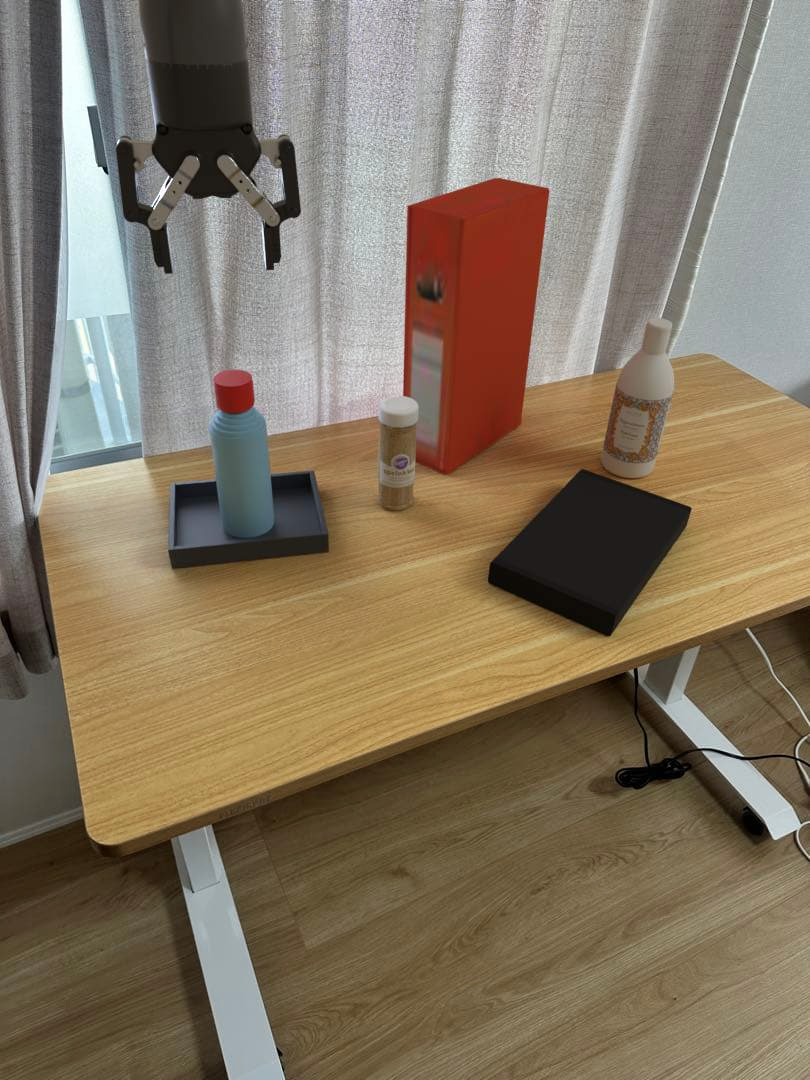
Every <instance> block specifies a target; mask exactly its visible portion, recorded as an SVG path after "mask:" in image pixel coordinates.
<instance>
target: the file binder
mask: <svg viewBox="0 0 810 1080" xmlns="http://www.w3.org/2000/svg"><path fill="white" fill-rule="evenodd" d="M549 198H550V188H549V187H544V186H541V185H535V184H530V183H524V182H522V181H521V182H520V181H515V180H511V179H506V178H501V177H494V178H490V179H488V180H485V181H481V182H478V183H475V184H471V185H469V186H465V187H462V188H459V189H456V190H454V191H453V190H452V191H450V192H446V193H443V194H440V195H437V196H434V197H430V198H427V199H424V200H421V201H418V202H414V203H412V204H409V205H407V209H406V247H405V248H406V250H405V251H406V252H405V253H406V254H405V257H406V258H405V293H404V295H405V298H404V335H403V339H404V343H403V377H402V378H403V380H402V384H403V385H402V396H405V397H409V398H411V399H413V400H415V401H416V402H417V403H418V406H419V413H418V421H417V424H416V457H415V463H418V464H421V465H423V466H425V467H427V468H429V469H432V470H434V471H437V472H439V473H441V474H444V475H449V474H451V473H453V472H454V471H456V470H457V469H458V468H460V467H461V466H463V465H464V464H466V463H467V462H469V461H470V460H472V459H473V458H475V457H476V456H477V455H479V454H480V453H482V452H483V451H485V450H487V449H488V448H489V447H490V446H492V445H493V444H495V443H496V442H498V441H499V440H501V439H502V438H503V437H505V436H507V435H508V434H509V433H511V432H512V431H514V430H516V429H517V428H518V427H520V426H521V425H522V417H523V410H524V409H523V408H524V402H525V401H524V400H525V393H526V392H525V391H526V384H527V377H528V369H529V360H530V352H531V344H532V336H533V328H534V327H533V326H534V321H535V319H534V318H535V311H536V302H537V297H538V296H537V295H538V288H539V278H540V273H541V272H540V271H541V262H542V257H543V256H542V254H543V247H544V239H545V238H544V237H545V230H546V222H547V214H548V207H549V200H550V199H549Z"/></svg>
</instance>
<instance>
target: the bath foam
mask: <svg viewBox="0 0 810 1080" xmlns="http://www.w3.org/2000/svg"><path fill="white" fill-rule="evenodd" d="M672 329H673V322H672V321H670V320H668V319H666V318H663V317H651V318H649V319H648V320H647V322H646V325H645V329H644V334H643V338H642V343H641V347H640V349H639V350H638V351H637V352H636V353H634V355H632V357H630V359H629V360H628V361H626V363H625V364H624V365H623V367H622V369H621V370H620V372H619V375H618V378H617V381H616V384H615V389H614V392H613V393H614V395H613V398H612V402H611V403H612V404H611V407H610V412H609V417H608V422H607V426H606V431H605V436H604V441H603V447H602V452H601V457H600V462H601V464H602V466H603V468H604V469H605V470H606V471H608V472H609V473H610V474H612V475H614V476H617V477H619V478H620V477H621V478H625V479H641V478H644V477H647V476H649V475H651V473H652V472H653V470H654V469H655V465H656V461H657V459H658V455H659V450H660V446H661V443H662V439H663V435H664V430H665V428H666V427H665V426H666V423H667V419H668V415H669V411H670V408H671V404H672V400H673V396H674V393H675V392H674V391H675V373H674V369H673V366H672V364H671V361H670V359H669V356H668V354H667V349H668V346H669V342H670V337H671V334H672Z"/></svg>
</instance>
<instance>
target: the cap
mask: <svg viewBox="0 0 810 1080" xmlns="http://www.w3.org/2000/svg"><path fill="white" fill-rule="evenodd" d="M212 380H213V387H214V396H215V405H216V407H217V410H218V409H220V410H221V411H224V412H228V413H239V412H244V411H247V410H249V409H251V408H252V407H254V405H255V401H256V399H255V388H254V380H253V375H252V374H251V373H250V372H249V371H246V370H242V369H227V370H222V371H219V372H218V373H216V374H215V375H214V376H213V378H212Z"/></svg>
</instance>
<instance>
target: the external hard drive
mask: <svg viewBox="0 0 810 1080" xmlns="http://www.w3.org/2000/svg"><path fill="white" fill-rule="evenodd" d="M692 510H693V509H692V507H691V506H689V505H686V504H684V503H681V502H678V501H675V500H673V499H669V498H667V497H664V496H661V495H659V494H655V493H653V492H649V491H647V490H644V489H641V488H639V487H636V486H633V485H630V484H628V483H624V482H621V481H619V480H616V479H613V478H610V477H608V476H605V475H602V474H599V473H596V472H593V471H591V470H588V469H584V468H581V469H579V471H578V472H577V473H575V475H573V477H572V478H571V479H570V480H569V481H568V482H567V483H566V484H565V485H564V486H563V487H562V488H561V489H560V490H559V491H558V492H557V493H556V494H555V496H553V498H552V499H550V501H548V502H547V504H546V505H545V506H543V508H542V509H541V510H540V511H539V512H538V513H537V514H536V515H535V516H534V517H533V518H532V519H531V520H530V521H529V522H528V523H527V525H525V526H524V527H523V528H522V529H521V530H520V531H519V533H517V534H516V536H515V537H513V539H512V540H511V541H510V542H508V544H507V545H506V546H504V548H502V550H501V551H500V552H499V553H498V554H497V555H496V556H495V557H494V558H493V559H492V560H491V561H490V562H489V567H488V575H487V576H488V577H487V583H488V584H489V585H490V586H494V587H496V588H498V589H500V590H503V591H504V592H507V593H509V594H511V595H514V596H515V597H518V598H520V599H523V600H525V601H527V602H530V603H531V604H534V605H537V606H539V607H541V608H543V609H545V610H548V611H550V612H552V613H554V614H556V615H559V616H561V617H563V618H566V619H567V620H570V621H572V622H574V623H577V624H579V625H581V626H583V627H586V628H588V629H590V630H593V631H594V632H597V633H598V634H601V635H604V636H606V637H611V636H612V635H613V633H614V632H615V630H616V629H617V627H618V626H619V624H621V622H622V621H623V619H624V617H625V616H626V615H627V613H628V612H629V610H630V609H631V607H632V606H633V604H634V603H635V602H636V600H637V598H638V597H639V596H640V595H641V593H642V591H643V590H644V588H645V587H646V586H647V584H648V583H649V582H650V580H651V579H652V577H653V575H654V574H655V573H656V571H657V570H658V568H659V567H660V566H661V564H662V562H663V561H664V559H665V558H666V557H667V555H669V552H670V551H671V549H672V548H673V547H674V545H675V544H676V542H677V541H678V539H679V538H680V536H681V535H682V534H683V532H684V531H685V529H686V527H687V526H688V523H689V519H690V516H691V513H692Z"/></svg>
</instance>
